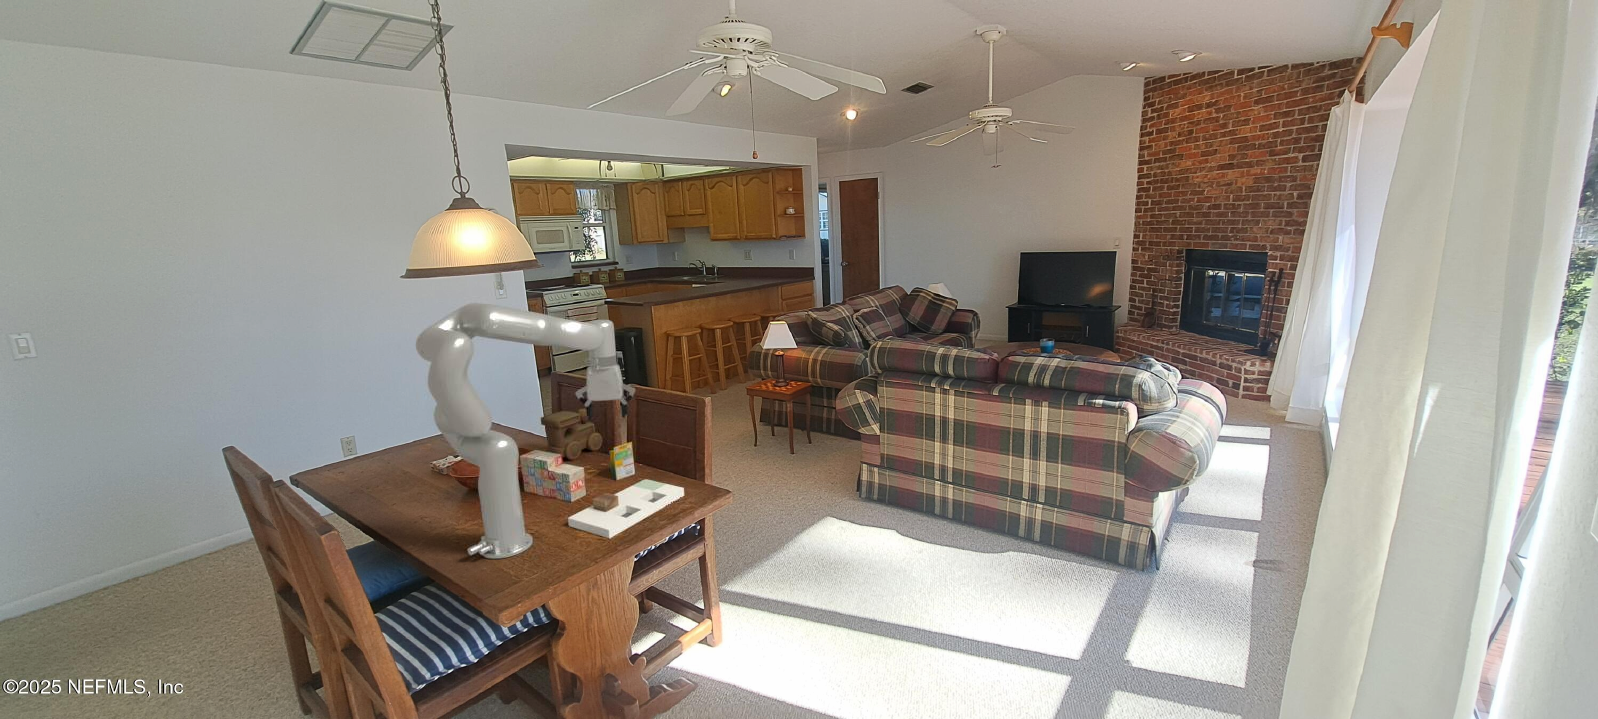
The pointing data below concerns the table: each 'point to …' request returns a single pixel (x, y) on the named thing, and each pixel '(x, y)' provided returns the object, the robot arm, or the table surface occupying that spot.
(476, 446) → the robot arm
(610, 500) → the walnut block
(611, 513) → the trap board
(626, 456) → the crayon box
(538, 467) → the stack of blocks
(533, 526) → the table surface
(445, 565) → the table surface
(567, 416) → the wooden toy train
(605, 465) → the table surface
